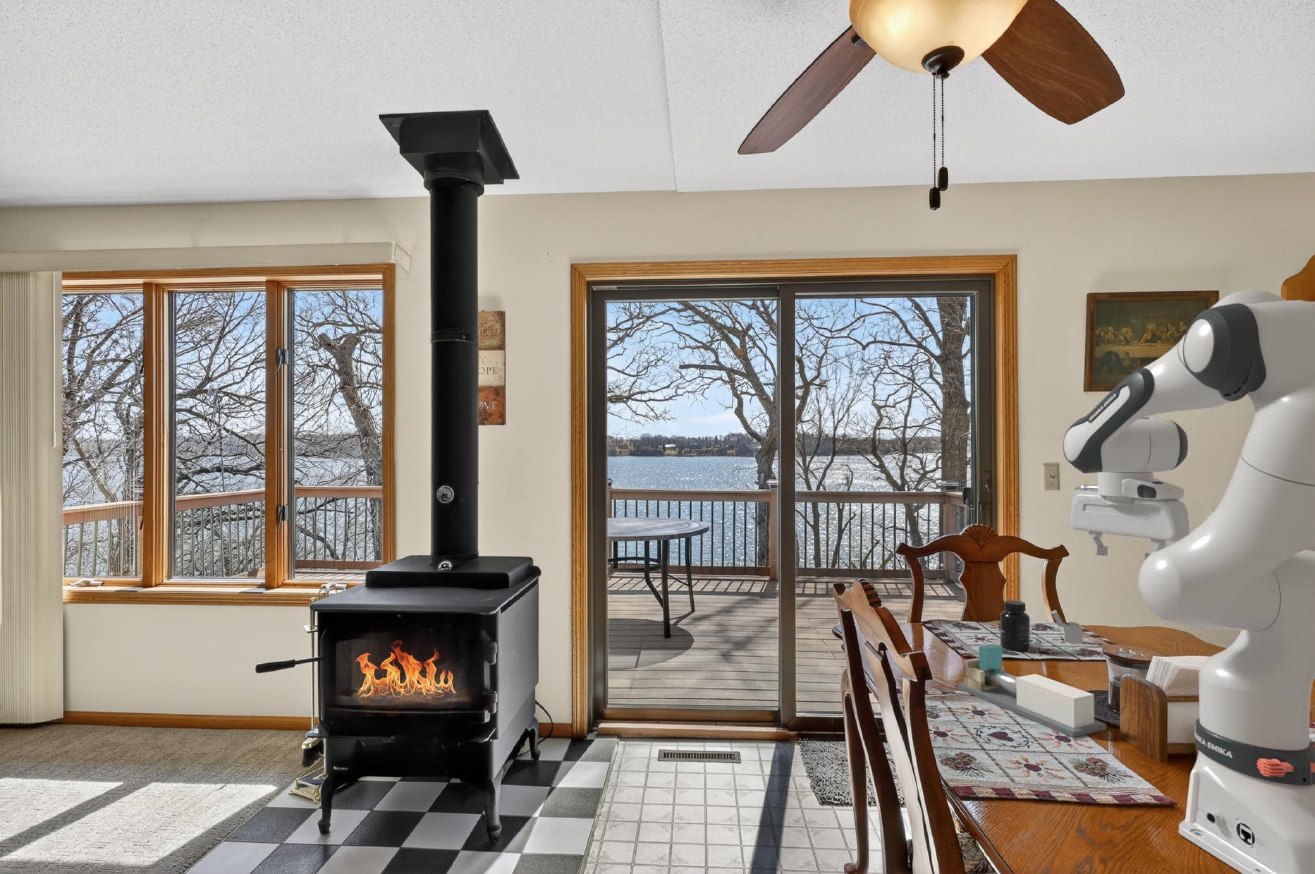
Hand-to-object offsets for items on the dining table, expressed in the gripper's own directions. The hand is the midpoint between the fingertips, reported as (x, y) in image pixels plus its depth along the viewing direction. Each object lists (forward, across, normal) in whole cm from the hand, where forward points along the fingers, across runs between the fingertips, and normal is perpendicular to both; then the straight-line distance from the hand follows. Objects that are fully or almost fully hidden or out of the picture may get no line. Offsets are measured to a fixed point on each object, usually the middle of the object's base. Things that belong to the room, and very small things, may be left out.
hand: (1125, 558), depth 127 cm
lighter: (+31, -40, +39) cm, 64 cm away
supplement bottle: (+31, -41, +20) cm, 56 cm away
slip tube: (+29, -16, -12) cm, 35 cm away
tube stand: (+31, -12, -12) cm, 35 cm away
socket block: (+30, -22, -12) cm, 39 cm away
